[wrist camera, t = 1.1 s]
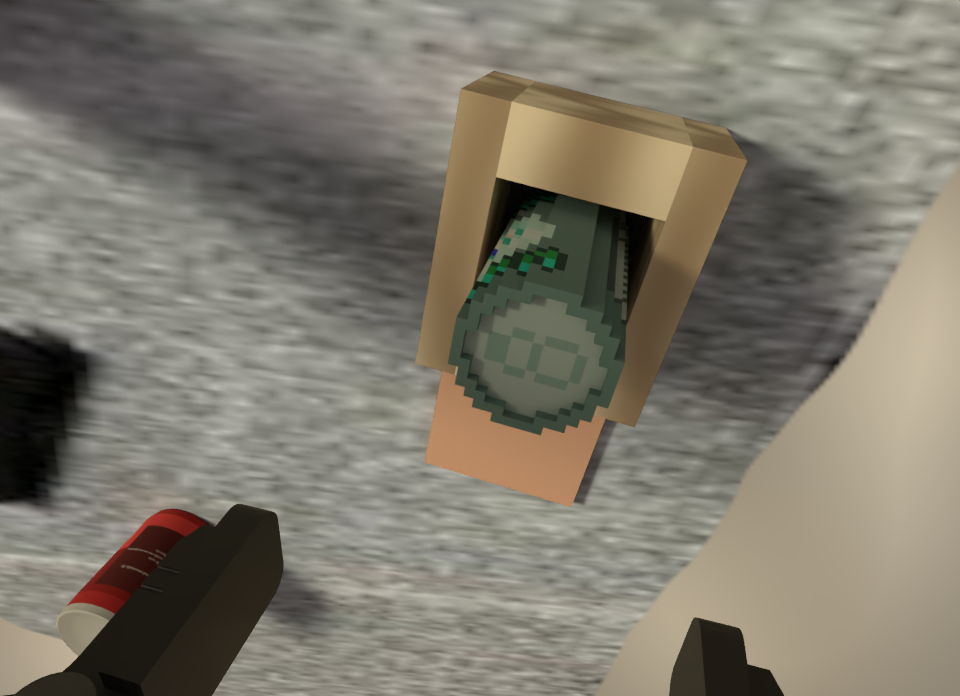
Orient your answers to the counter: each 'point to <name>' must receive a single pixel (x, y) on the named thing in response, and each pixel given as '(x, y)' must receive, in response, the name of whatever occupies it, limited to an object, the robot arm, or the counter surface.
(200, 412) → the counter surface
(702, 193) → the bore block
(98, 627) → the canned food
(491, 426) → the plate
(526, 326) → the can
